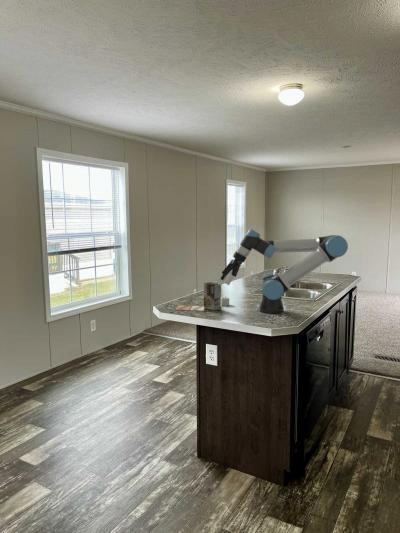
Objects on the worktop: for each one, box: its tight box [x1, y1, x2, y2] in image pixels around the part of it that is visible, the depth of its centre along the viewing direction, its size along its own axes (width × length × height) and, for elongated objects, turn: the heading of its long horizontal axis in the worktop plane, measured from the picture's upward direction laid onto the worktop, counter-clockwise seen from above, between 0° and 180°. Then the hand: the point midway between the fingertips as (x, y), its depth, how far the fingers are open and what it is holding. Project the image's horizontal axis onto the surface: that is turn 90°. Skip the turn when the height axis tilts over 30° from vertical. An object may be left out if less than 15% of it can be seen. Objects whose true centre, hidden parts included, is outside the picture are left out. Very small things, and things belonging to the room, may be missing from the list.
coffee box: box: [203, 281, 222, 311], centre depth 242 cm, size 9×6×16 cm
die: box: [220, 296, 230, 307], centre depth 256 cm, size 5×5×5 cm
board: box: [173, 304, 222, 313], centre depth 244 cm, size 28×14×1 cm, turn 83°
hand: (223, 284), depth 230 cm, fingers open, 13 cm apart
